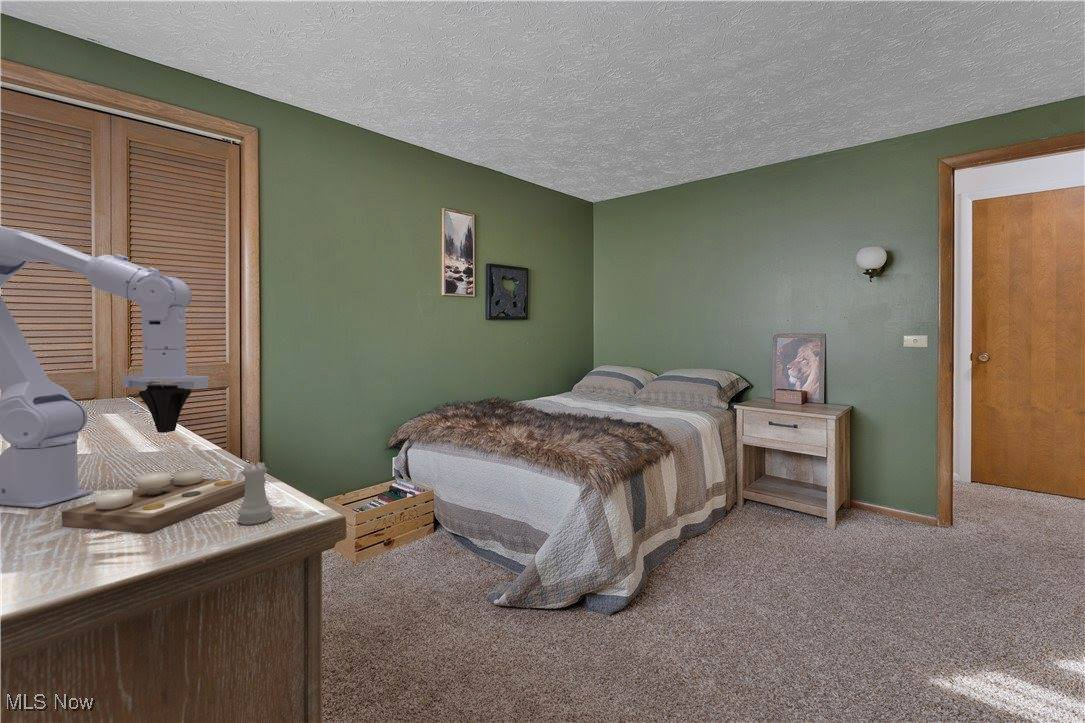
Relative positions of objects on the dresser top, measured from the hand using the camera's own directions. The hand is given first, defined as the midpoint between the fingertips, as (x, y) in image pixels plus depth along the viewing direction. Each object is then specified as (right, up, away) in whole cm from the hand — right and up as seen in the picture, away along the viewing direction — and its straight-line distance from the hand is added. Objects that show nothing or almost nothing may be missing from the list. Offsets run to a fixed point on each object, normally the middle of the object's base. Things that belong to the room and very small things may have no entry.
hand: (166, 431), depth 83 cm
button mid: (+3, -9, -6) cm, 11 cm away
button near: (+2, -10, -12) cm, 16 cm away
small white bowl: (+4, -10, 0) cm, 10 cm away
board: (+5, -11, -7) cm, 13 cm away
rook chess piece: (+21, -11, -11) cm, 27 cm away
